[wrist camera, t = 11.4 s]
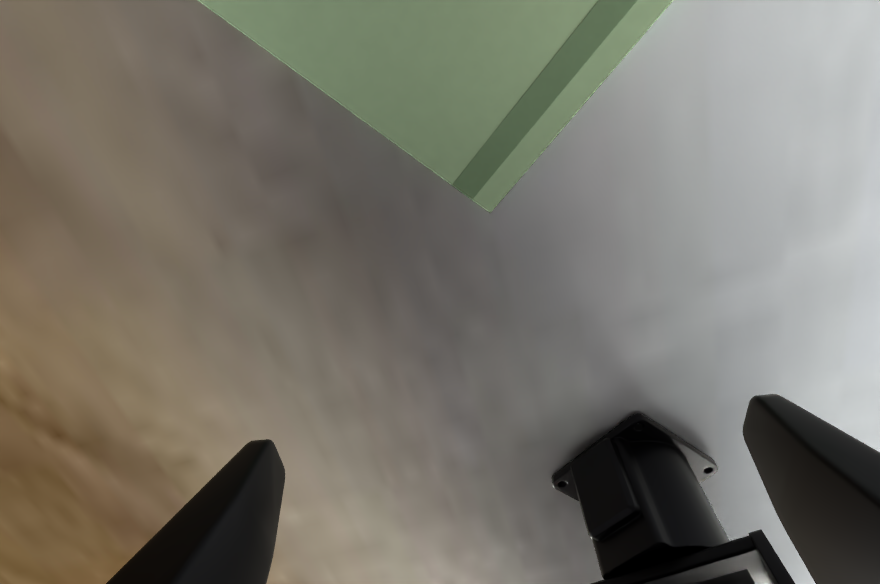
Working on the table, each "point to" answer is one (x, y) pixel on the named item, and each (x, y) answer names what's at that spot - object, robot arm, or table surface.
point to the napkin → (453, 71)
